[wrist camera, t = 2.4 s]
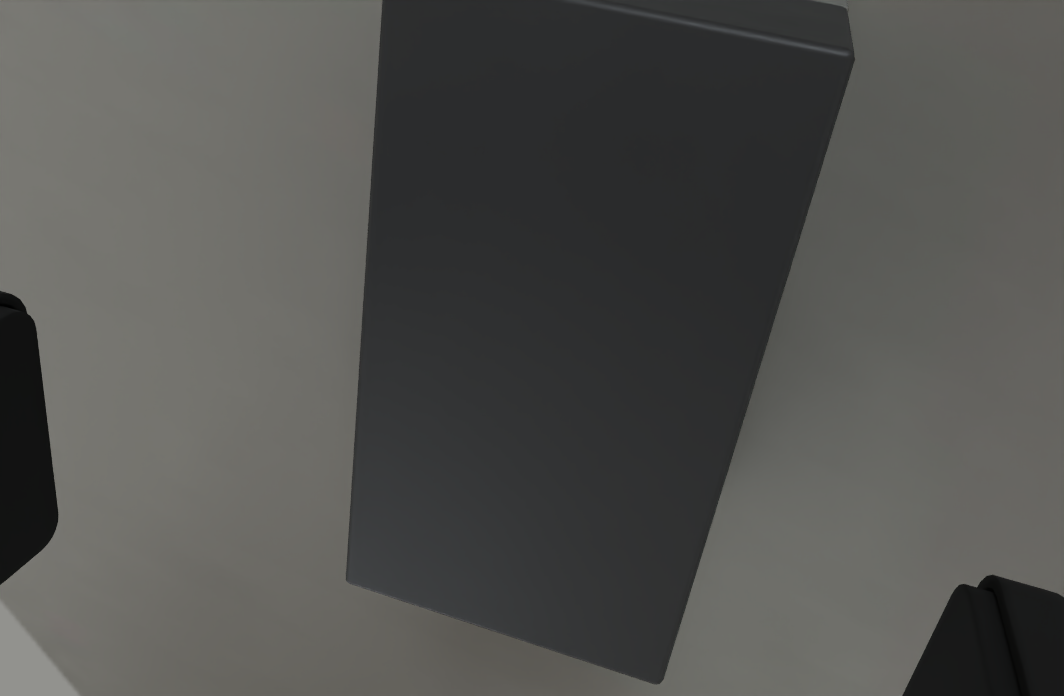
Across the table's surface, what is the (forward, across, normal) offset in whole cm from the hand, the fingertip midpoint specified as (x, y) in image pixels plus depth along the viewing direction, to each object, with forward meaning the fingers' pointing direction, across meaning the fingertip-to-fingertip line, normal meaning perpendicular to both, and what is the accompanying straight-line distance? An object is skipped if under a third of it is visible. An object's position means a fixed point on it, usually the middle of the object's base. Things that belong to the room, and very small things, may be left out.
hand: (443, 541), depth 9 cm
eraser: (+8, 0, 0) cm, 8 cm away
